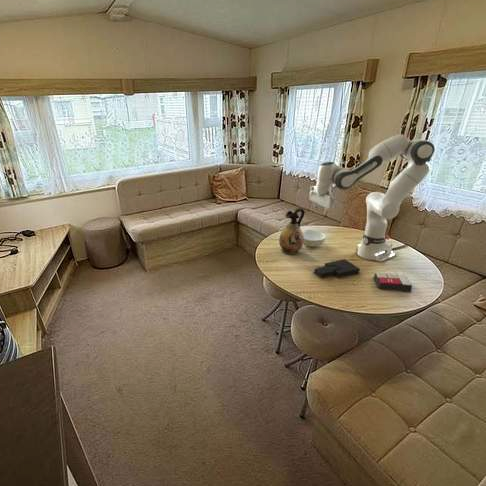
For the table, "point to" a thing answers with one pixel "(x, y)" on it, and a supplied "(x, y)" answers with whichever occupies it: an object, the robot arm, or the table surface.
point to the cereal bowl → (313, 238)
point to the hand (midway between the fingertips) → (320, 211)
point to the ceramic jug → (292, 233)
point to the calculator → (392, 281)
